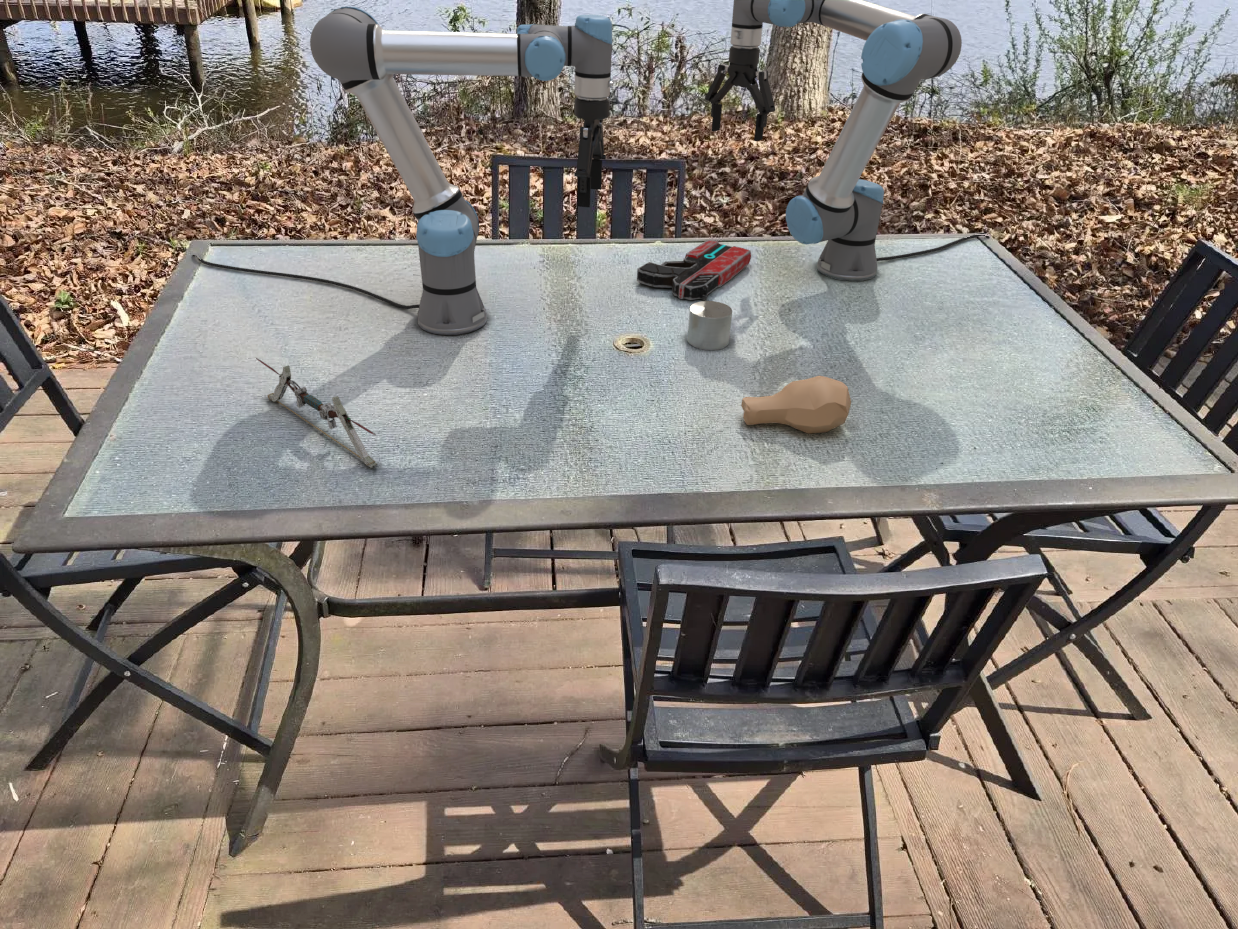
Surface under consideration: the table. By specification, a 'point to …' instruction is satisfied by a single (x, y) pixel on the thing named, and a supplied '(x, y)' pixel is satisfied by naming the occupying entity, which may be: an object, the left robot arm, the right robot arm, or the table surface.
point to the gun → (697, 270)
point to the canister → (709, 325)
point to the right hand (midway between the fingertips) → (736, 135)
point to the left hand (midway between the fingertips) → (589, 197)
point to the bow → (322, 411)
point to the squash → (802, 405)
